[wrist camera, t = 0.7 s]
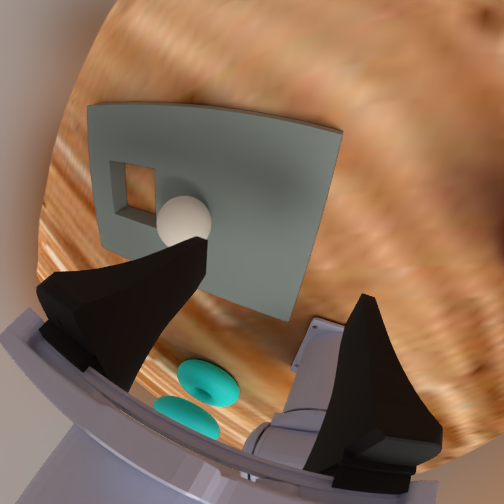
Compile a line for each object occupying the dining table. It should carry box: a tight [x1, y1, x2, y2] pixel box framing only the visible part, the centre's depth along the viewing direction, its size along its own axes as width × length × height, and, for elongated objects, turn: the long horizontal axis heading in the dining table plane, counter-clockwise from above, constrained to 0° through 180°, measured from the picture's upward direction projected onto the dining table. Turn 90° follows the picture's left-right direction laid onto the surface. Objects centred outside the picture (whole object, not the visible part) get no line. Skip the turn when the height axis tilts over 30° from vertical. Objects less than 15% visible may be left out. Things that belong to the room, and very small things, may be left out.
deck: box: [87, 102, 343, 322], centre depth 22 cm, size 16×22×2 cm
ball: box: [156, 196, 212, 247], centre depth 19 cm, size 4×4×4 cm
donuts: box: [153, 359, 240, 440], centre depth 35 cm, size 10×10×10 cm
